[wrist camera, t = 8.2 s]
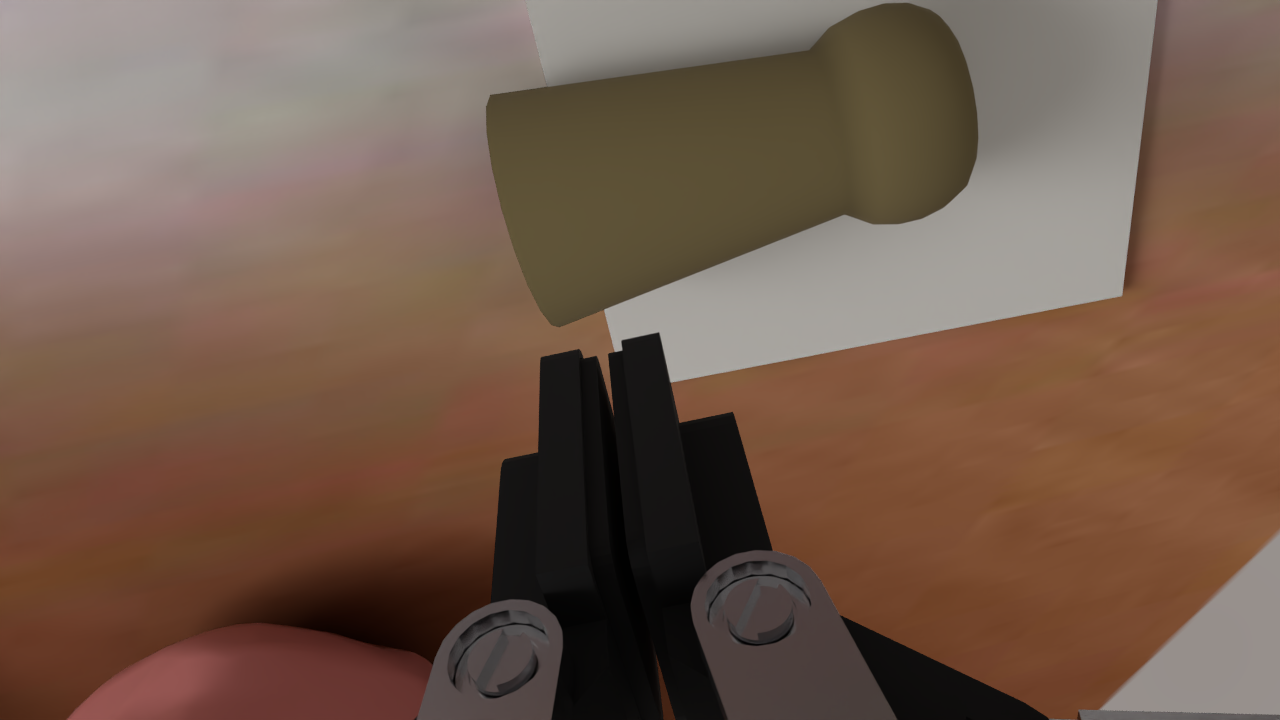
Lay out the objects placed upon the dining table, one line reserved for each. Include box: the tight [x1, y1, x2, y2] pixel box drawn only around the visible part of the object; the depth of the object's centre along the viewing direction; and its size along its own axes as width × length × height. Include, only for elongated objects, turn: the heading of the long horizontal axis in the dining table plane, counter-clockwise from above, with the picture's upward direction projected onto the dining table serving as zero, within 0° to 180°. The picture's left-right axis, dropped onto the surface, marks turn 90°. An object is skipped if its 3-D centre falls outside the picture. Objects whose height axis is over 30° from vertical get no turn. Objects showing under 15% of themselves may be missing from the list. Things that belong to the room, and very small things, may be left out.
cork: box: [486, 3, 978, 327], centre depth 22 cm, size 6×6×11 cm
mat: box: [525, 0, 1158, 382], centre depth 24 cm, size 15×16×1 cm
